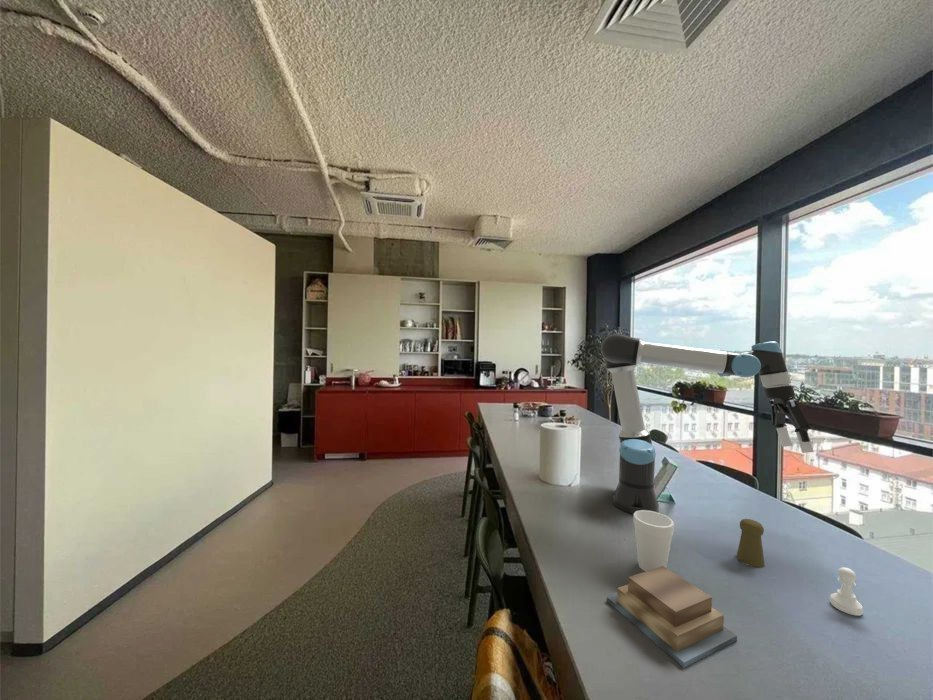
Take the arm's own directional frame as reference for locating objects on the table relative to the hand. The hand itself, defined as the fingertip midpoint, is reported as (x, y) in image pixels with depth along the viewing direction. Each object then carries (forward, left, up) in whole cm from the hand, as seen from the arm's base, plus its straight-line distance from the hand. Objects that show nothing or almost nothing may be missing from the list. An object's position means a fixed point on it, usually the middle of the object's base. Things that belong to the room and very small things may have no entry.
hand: (796, 449), depth 117 cm
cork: (+6, -36, -26) cm, 45 cm away
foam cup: (-2, -65, -26) cm, 71 cm away
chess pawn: (+25, -36, -26) cm, 51 cm away
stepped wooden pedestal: (+12, -78, -26) cm, 83 cm away
